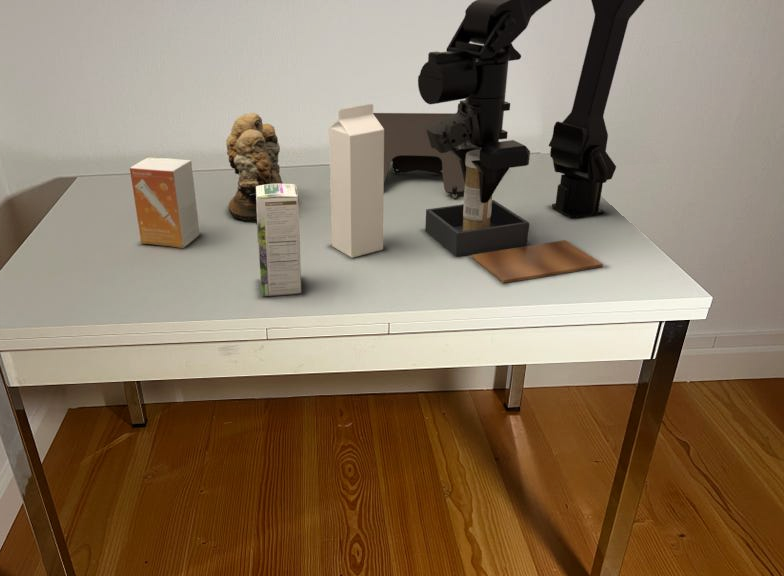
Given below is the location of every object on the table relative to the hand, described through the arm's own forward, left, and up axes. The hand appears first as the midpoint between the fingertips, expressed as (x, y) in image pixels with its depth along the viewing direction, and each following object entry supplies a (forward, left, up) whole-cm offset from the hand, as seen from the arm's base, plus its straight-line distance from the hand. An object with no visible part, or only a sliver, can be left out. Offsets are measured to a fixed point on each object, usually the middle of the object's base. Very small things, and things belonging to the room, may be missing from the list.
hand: (477, 197), depth 119 cm
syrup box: (+34, +7, -7) cm, 35 cm away
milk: (+19, -3, -7) cm, 20 cm away
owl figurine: (+29, -28, -7) cm, 41 cm away
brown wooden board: (-4, +12, -7) cm, 14 cm away
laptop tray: (-3, -31, -7) cm, 32 cm away
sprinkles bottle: (0, 0, -7) cm, 7 cm away
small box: (+47, -18, -7) cm, 51 cm away
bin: (0, 0, -7) cm, 7 cm away
